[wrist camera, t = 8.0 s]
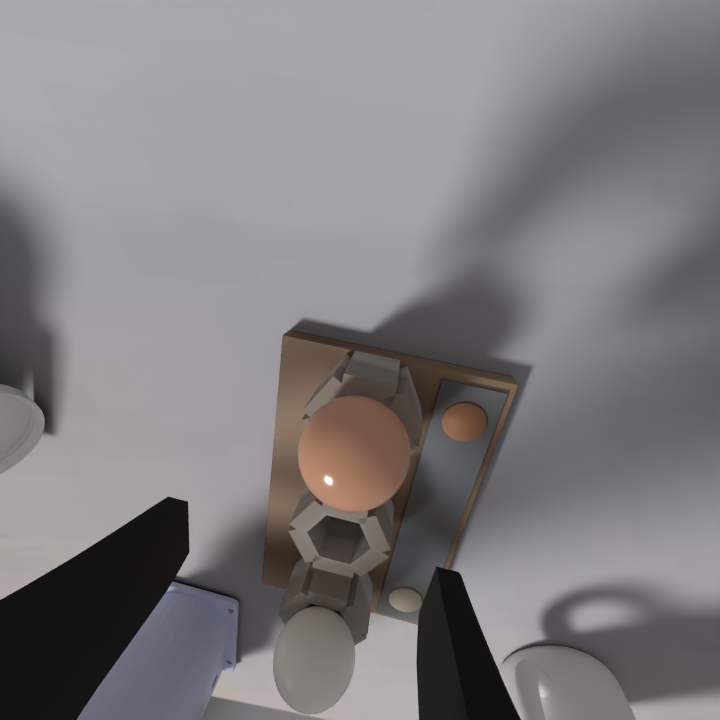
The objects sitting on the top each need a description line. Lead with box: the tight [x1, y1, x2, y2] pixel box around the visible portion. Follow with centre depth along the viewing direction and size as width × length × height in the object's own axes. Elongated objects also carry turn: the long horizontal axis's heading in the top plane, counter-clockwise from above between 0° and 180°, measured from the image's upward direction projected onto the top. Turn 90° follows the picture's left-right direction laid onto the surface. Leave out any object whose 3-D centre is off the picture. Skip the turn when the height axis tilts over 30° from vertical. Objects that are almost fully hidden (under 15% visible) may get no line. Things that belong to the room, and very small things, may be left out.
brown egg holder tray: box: [262, 330, 518, 646], centre depth 20 cm, size 19×12×4 cm, turn 170°
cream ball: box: [273, 606, 355, 714], centre depth 19 cm, size 4×4×4 cm
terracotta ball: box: [298, 395, 411, 512], centre depth 14 cm, size 4×4×4 cm
